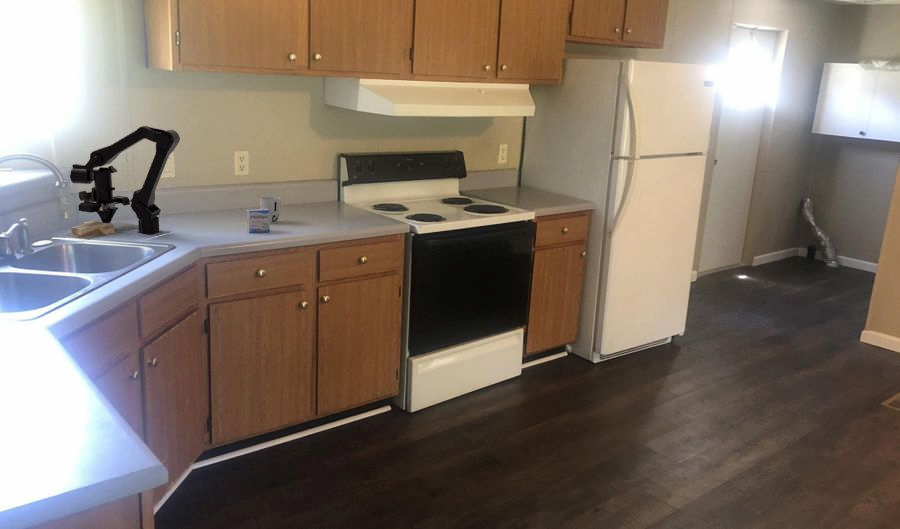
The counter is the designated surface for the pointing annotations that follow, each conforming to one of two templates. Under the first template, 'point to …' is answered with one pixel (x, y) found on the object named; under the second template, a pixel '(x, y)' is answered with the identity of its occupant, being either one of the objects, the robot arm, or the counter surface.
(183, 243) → the counter surface
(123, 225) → the mat
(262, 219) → the medicine box
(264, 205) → the cup
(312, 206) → the counter surface
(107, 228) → the t block
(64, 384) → the counter surface
